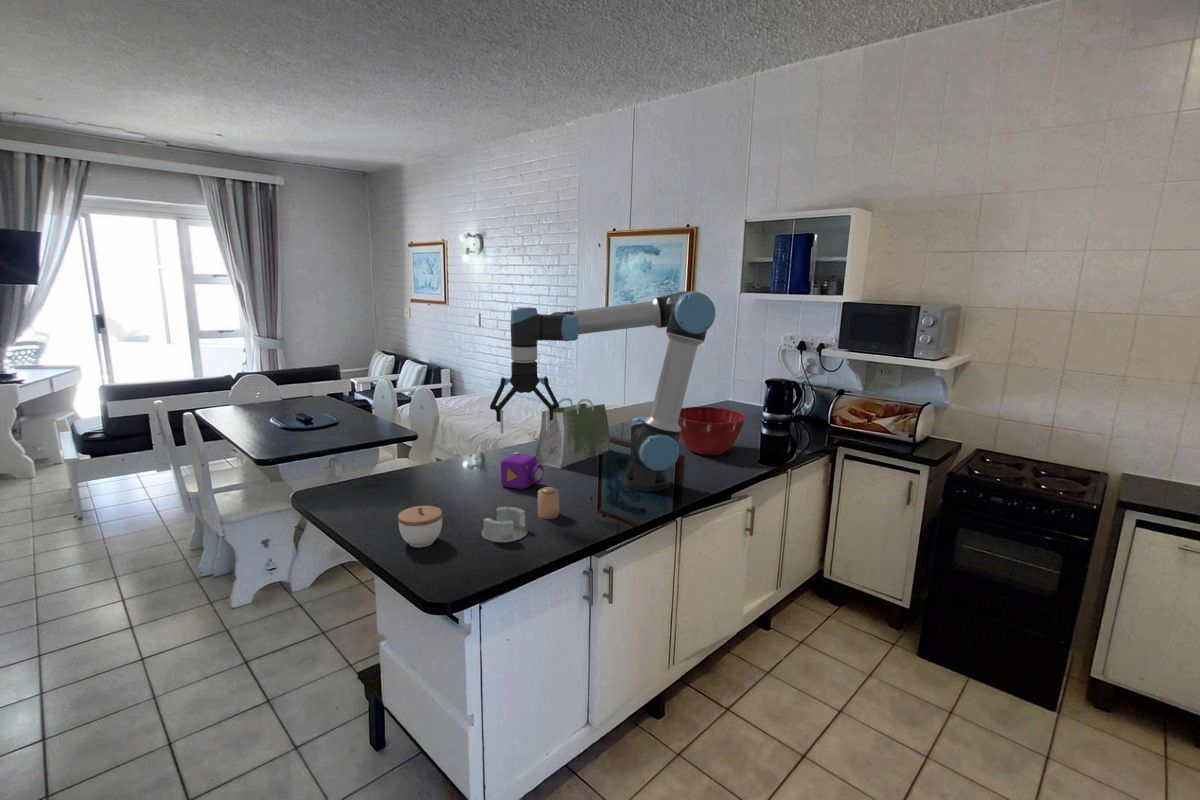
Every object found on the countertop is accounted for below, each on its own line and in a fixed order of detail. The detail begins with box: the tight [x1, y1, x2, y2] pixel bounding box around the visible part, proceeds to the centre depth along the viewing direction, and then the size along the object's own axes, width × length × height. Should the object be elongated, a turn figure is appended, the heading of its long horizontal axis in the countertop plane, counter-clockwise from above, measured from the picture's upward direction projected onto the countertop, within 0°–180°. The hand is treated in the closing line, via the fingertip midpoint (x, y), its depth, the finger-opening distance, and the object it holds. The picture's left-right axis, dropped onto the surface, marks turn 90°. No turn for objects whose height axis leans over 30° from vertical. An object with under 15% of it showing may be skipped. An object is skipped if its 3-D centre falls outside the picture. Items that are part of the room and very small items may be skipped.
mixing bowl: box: [678, 406, 746, 456], centre depth 229 cm, size 28×28×16 cm
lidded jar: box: [397, 505, 443, 548], centre depth 143 cm, size 11×11×9 cm
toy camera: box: [500, 451, 545, 490], centre depth 185 cm, size 11×14×10 cm
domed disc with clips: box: [481, 506, 528, 544], centre depth 149 cm, size 12×12×5 cm
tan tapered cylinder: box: [537, 486, 560, 520], centre depth 162 cm, size 6×6×8 cm
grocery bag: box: [534, 397, 611, 469], centre depth 218 cm, size 32×14×23 cm, turn 145°
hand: (525, 431), depth 168 cm, fingers open, 13 cm apart
